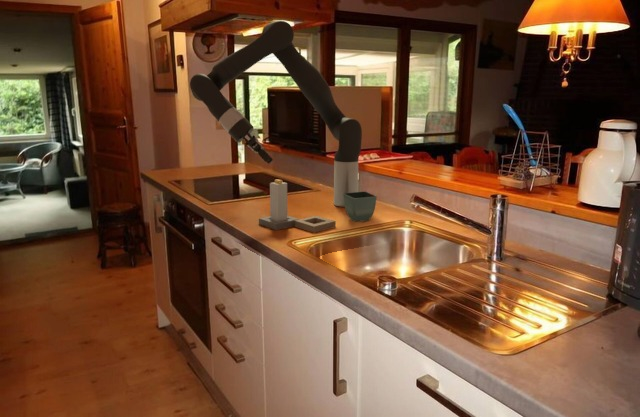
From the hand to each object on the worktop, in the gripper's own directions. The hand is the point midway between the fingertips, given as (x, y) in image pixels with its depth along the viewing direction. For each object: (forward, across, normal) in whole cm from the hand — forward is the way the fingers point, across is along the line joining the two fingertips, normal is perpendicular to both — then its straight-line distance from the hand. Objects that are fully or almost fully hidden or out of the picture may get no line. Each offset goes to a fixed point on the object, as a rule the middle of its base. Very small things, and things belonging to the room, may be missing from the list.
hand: (269, 161), depth 160 cm
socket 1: (+17, +1, +12) cm, 21 cm away
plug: (+17, +1, +12) cm, 21 cm away
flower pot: (+35, +7, -8) cm, 37 cm away
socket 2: (+26, -2, +4) cm, 26 cm away
